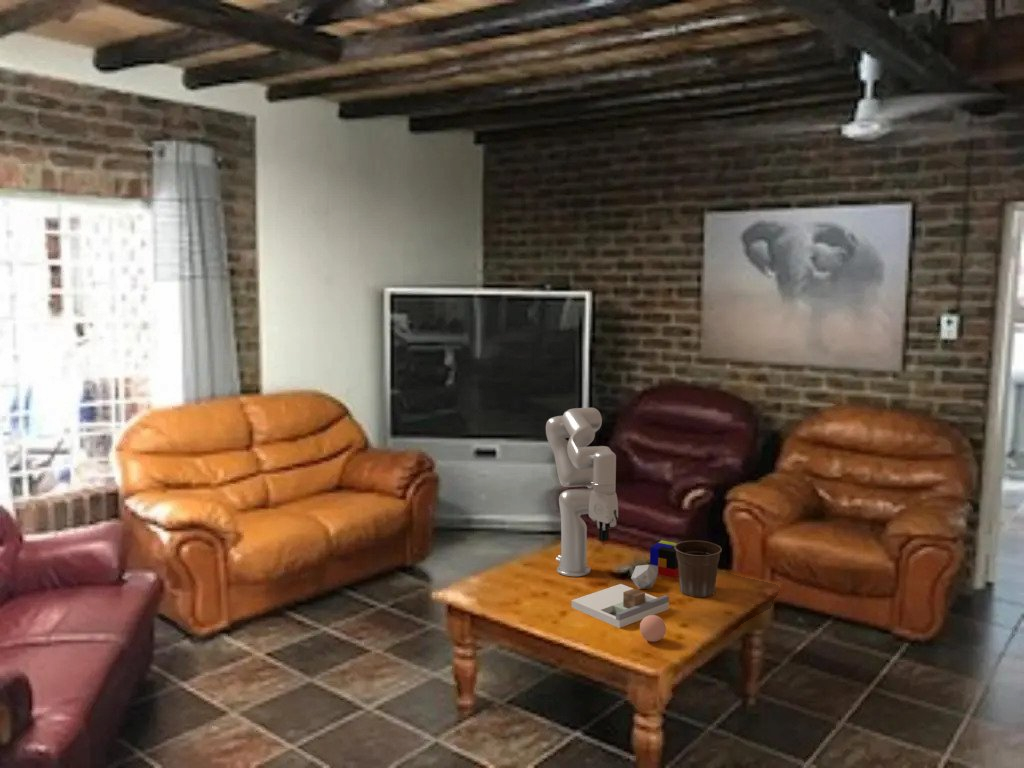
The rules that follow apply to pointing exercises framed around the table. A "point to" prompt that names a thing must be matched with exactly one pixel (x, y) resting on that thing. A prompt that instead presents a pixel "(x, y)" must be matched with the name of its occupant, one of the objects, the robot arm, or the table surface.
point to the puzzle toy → (664, 559)
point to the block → (633, 598)
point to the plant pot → (697, 567)
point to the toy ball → (652, 628)
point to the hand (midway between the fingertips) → (603, 540)
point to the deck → (618, 606)
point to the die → (644, 576)
